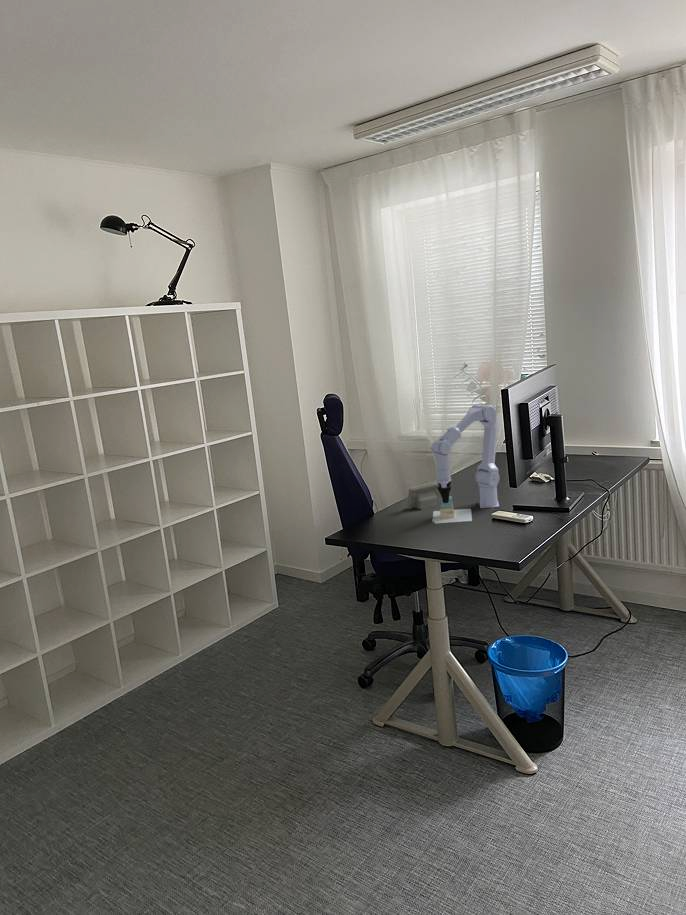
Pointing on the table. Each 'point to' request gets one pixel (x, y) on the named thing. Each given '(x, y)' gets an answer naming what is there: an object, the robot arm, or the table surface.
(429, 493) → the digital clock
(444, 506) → the teal block
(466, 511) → the board
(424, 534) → the table surface
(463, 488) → the table surface
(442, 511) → the base block
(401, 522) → the table surface
